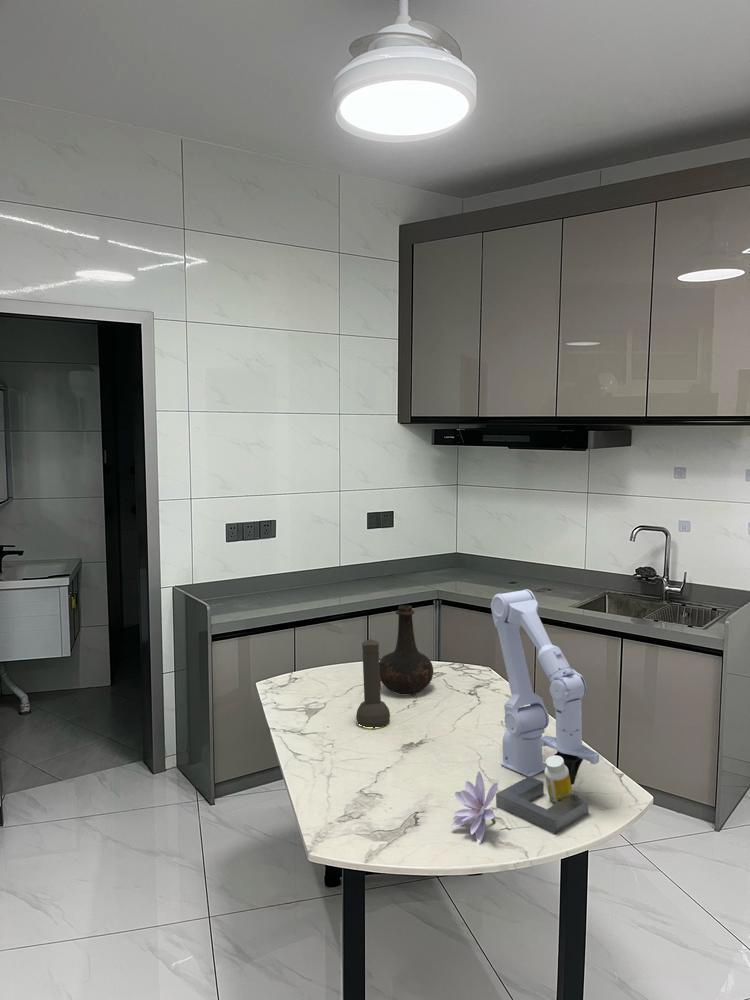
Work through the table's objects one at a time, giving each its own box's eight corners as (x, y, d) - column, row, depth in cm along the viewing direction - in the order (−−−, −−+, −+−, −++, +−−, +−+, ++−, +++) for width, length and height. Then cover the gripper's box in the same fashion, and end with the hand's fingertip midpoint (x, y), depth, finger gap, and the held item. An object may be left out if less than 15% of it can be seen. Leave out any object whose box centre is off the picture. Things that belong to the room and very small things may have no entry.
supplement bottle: (545, 799, 171) (537, 764, 168) (556, 785, 174) (549, 750, 172) (566, 807, 167) (559, 771, 164) (577, 792, 171) (570, 756, 168)
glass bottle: (376, 682, 252) (373, 601, 249) (428, 678, 254) (426, 597, 251) (382, 702, 234) (379, 614, 232) (438, 697, 236) (436, 610, 233)
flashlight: (357, 730, 213) (391, 728, 214) (353, 645, 211) (388, 643, 211) (355, 717, 223) (388, 715, 223) (352, 635, 220) (385, 633, 221)
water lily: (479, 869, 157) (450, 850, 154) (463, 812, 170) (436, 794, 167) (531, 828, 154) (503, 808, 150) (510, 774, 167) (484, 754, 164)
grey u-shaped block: (496, 806, 169) (496, 793, 168) (529, 788, 176) (529, 776, 176) (555, 834, 156) (555, 820, 156) (588, 813, 164) (588, 800, 164)
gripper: (606, 730, 168) (607, 788, 170) (552, 713, 179) (553, 768, 181) (588, 740, 164) (589, 799, 165) (534, 722, 175) (535, 777, 176)
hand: (569, 783), depth 172 cm, fingers closed, pressing on supplement bottle
